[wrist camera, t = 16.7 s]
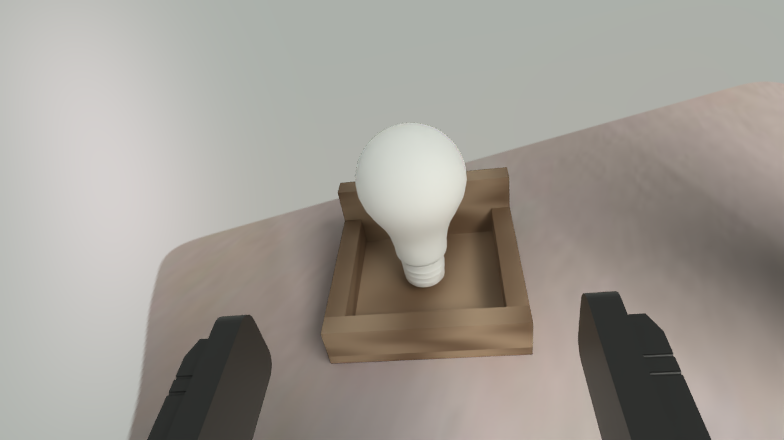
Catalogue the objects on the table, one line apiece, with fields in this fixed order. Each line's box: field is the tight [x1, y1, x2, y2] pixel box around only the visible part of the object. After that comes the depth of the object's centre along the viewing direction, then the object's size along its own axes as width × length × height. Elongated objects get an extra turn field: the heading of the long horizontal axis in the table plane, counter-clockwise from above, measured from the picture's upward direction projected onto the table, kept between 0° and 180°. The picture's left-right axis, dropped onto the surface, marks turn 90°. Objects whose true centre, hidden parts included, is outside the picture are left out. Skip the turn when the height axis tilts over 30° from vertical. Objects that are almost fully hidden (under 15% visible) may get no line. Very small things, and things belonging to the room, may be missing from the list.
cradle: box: [321, 167, 533, 363], centre depth 32 cm, size 11×11×5 cm
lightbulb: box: [355, 123, 467, 288], centre depth 30 cm, size 6×6×11 cm
